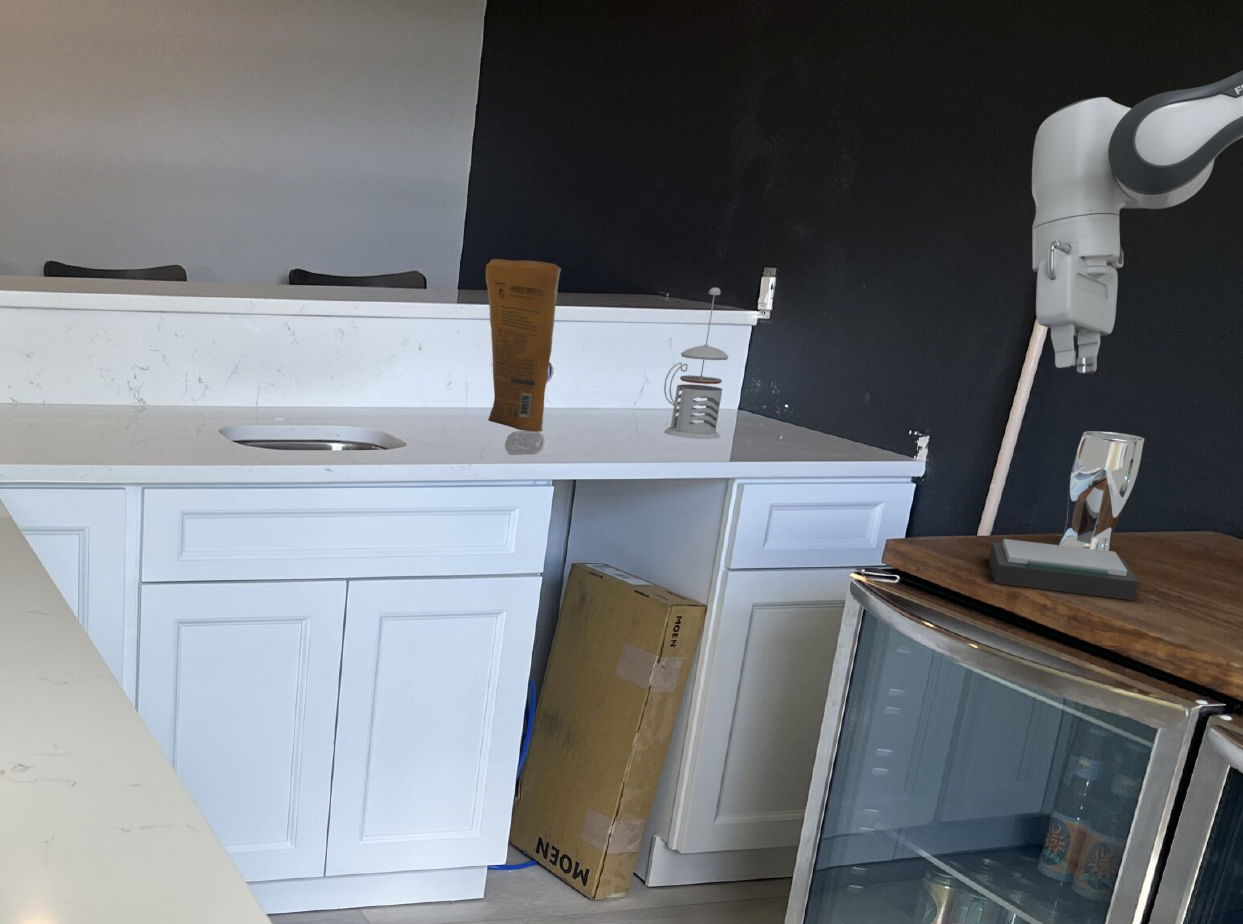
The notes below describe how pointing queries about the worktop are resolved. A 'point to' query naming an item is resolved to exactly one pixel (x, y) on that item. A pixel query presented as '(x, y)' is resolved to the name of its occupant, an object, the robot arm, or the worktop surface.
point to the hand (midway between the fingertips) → (1076, 370)
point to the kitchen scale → (1062, 569)
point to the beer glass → (1100, 487)
